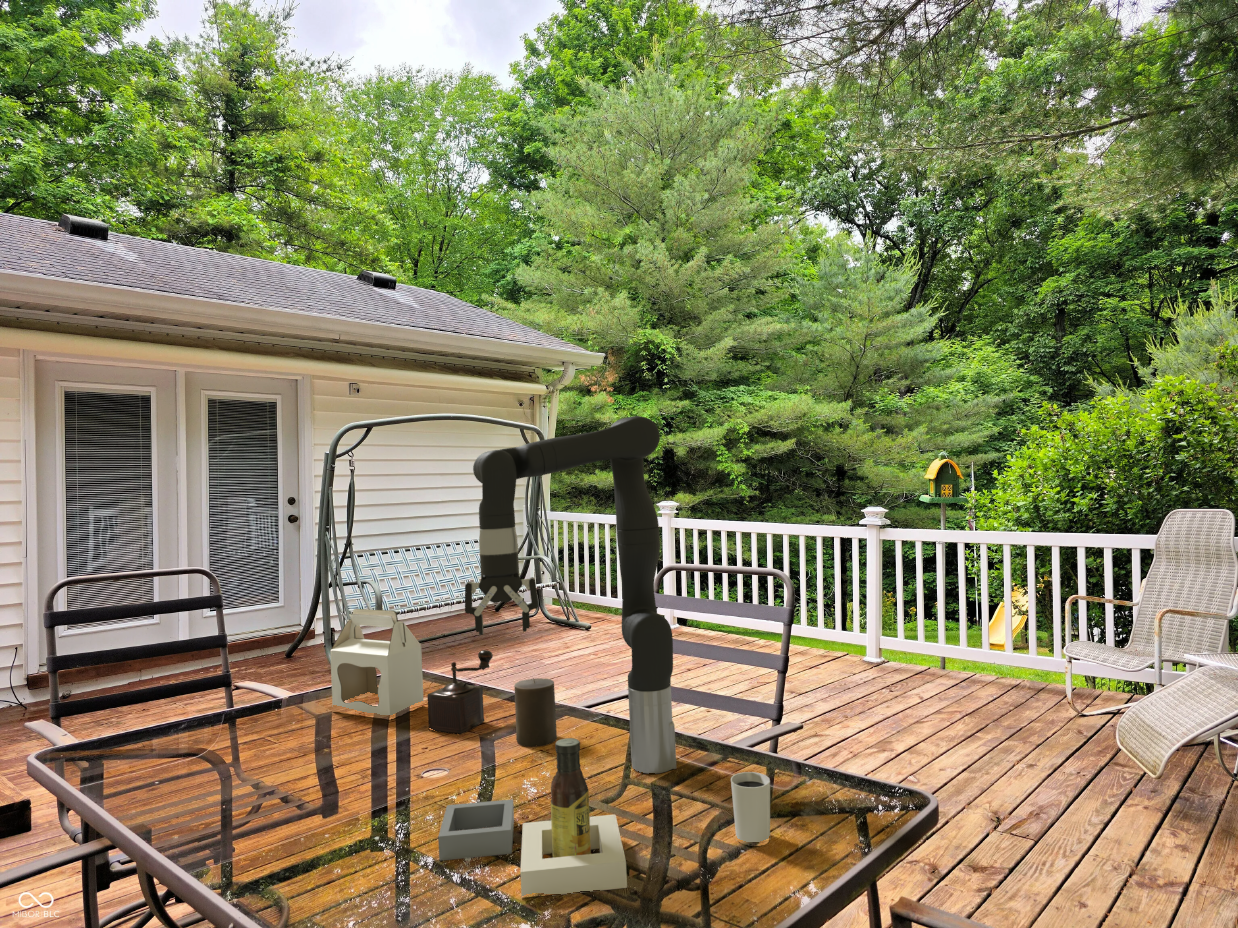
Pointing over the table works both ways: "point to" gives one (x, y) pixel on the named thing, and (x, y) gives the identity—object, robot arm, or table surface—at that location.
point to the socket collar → (572, 860)
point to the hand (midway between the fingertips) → (503, 632)
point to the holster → (477, 830)
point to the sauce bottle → (569, 803)
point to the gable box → (376, 664)
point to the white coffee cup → (751, 806)
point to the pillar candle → (535, 712)
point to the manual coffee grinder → (458, 702)
